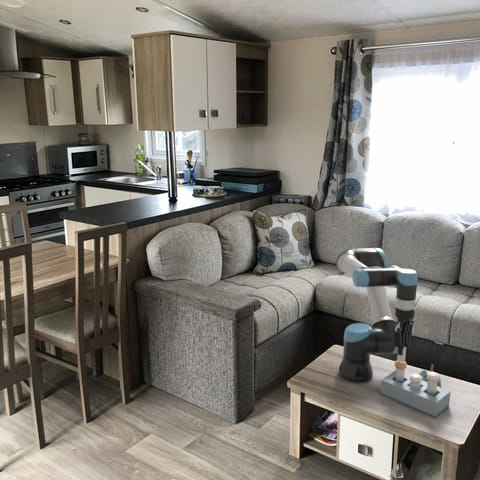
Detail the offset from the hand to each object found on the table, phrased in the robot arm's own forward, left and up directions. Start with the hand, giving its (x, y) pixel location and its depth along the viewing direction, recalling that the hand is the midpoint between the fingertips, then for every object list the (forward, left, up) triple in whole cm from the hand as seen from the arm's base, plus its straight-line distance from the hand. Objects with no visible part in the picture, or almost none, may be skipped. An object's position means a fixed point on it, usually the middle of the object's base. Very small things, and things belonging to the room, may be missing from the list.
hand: (401, 361), depth 208 cm
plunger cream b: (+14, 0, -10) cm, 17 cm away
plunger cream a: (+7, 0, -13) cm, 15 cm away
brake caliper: (+6, +14, -16) cm, 22 cm away
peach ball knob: (0, 0, -10) cm, 10 cm away
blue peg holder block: (+7, 0, -15) cm, 17 cm away
